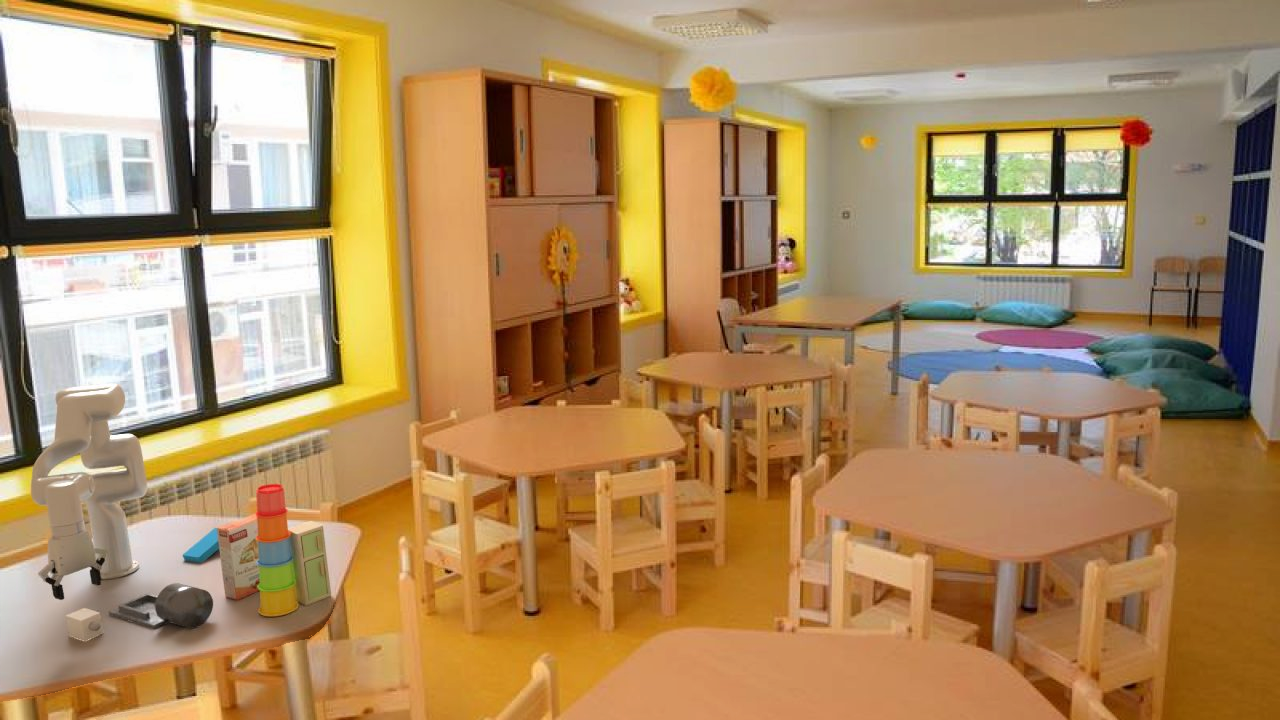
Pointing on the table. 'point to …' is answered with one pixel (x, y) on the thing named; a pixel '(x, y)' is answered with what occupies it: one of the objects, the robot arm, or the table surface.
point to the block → (84, 624)
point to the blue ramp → (203, 548)
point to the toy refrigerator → (309, 562)
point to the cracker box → (239, 557)
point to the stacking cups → (274, 553)
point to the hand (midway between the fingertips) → (78, 591)
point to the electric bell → (168, 607)
